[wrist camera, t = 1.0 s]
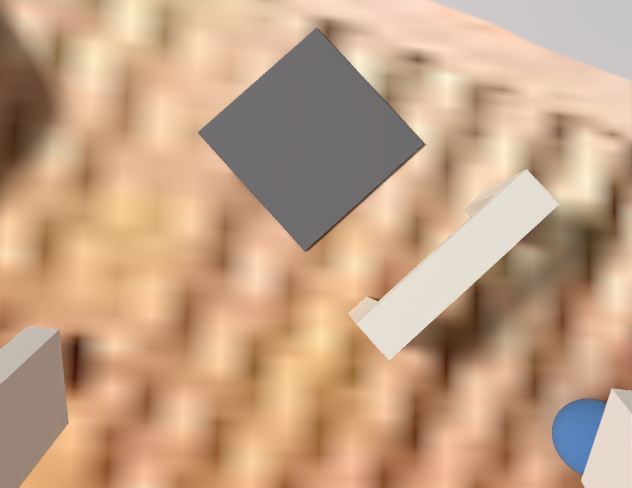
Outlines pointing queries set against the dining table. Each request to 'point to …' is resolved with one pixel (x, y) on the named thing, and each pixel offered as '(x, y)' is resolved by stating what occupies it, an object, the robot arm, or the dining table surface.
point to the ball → (577, 431)
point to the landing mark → (310, 139)
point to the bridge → (455, 262)
